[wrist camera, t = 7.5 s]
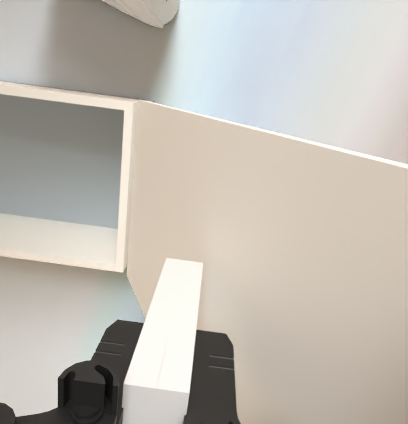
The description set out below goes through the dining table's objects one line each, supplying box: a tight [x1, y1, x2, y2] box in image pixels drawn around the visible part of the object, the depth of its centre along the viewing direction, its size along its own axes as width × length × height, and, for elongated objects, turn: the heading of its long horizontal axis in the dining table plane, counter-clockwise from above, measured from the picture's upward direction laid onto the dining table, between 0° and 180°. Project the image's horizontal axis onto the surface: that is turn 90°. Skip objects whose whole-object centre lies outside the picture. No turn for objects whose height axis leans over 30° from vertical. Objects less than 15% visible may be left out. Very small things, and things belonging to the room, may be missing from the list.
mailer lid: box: [127, 100, 408, 424], centre depth 15 cm, size 13×25×2 cm
